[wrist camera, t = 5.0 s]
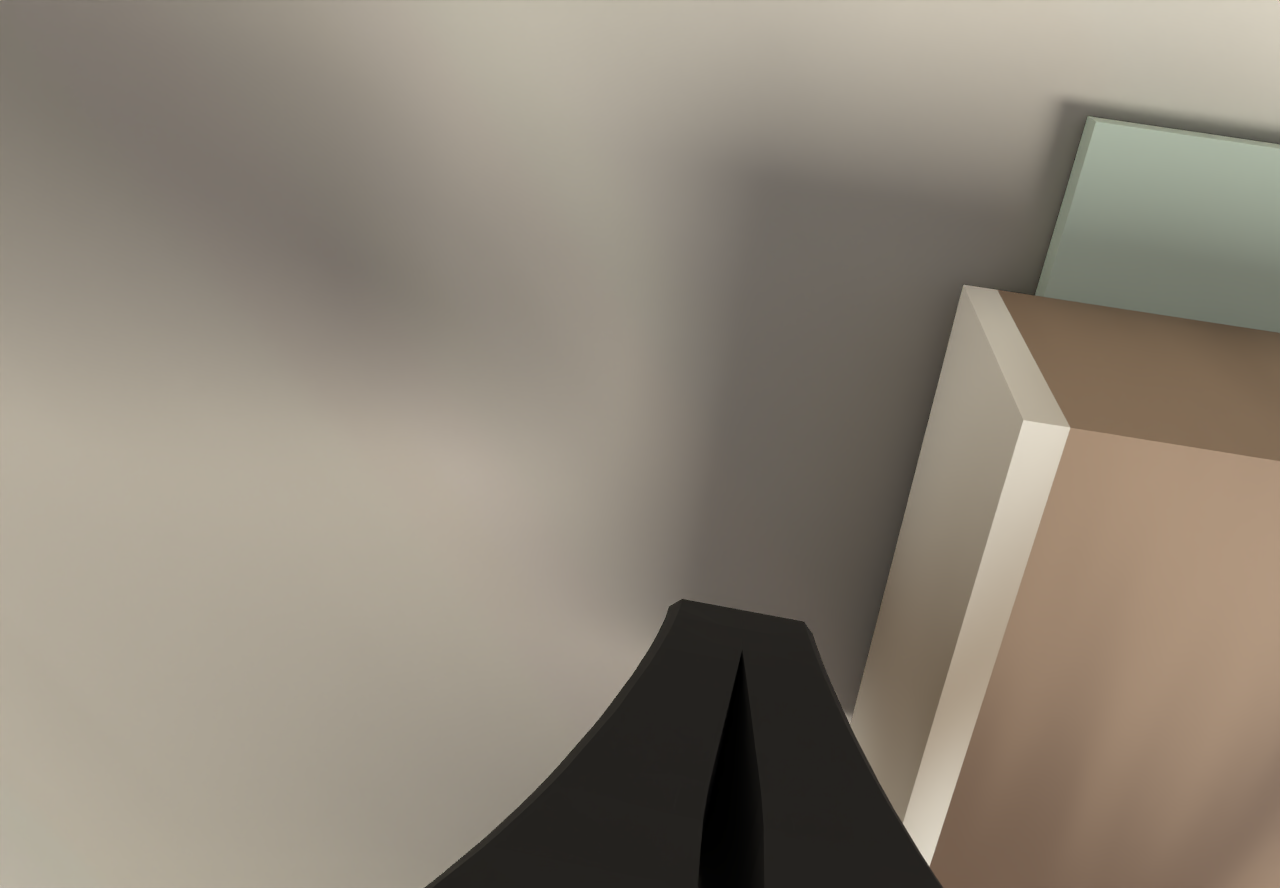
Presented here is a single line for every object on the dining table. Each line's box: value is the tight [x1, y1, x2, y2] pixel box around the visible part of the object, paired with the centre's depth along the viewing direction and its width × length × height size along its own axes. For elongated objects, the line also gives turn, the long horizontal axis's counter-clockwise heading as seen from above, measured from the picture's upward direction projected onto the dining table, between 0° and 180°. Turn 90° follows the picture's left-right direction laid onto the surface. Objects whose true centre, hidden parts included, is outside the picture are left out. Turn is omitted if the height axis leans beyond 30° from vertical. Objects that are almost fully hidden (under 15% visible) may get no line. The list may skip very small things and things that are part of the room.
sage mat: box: [1035, 116, 1280, 333], centre depth 14 cm, size 11×8×1 cm
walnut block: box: [850, 285, 1280, 888], centre depth 12 cm, size 7×4×7 cm
